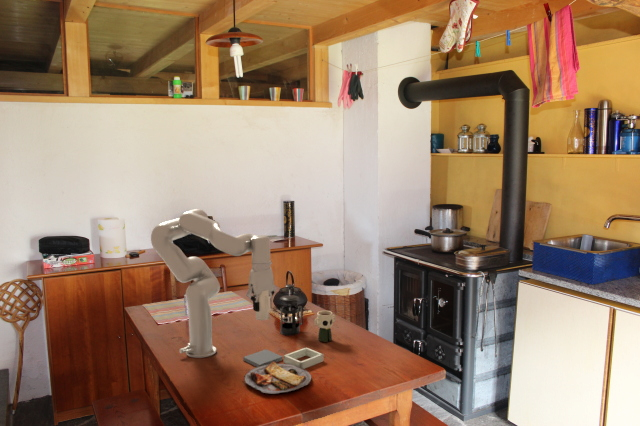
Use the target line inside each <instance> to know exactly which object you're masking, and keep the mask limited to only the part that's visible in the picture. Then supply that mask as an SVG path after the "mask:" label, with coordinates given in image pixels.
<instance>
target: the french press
mask: <svg viewBox="0 0 640 426" xmlns="http://www.w3.org/2000/svg"><path fill="white" fill-rule="evenodd" d="M294 286H295V285H294V284H286V285H284V287H285V288H288V293H289V294H288V295H287V294H285V295H282V296H280V298H279V300H280V301H281V302H283V303H284V305H282V306H280V308H279V309H280V331H279V332H280V334H281V335H283V336H288V337H289V336H291V337H292V336H297V335H299V334H300V333H301V329H300V326H303V325H304V307H303V306H302V305H299V306H298V305H297V304H298V303H299V300H300V296H298V295H294V294H292V295H291V288H293V287H294ZM291 308H292V309H295V310H289V309H291ZM296 313H297V315H296ZM283 314H284V316H283Z"/></svg>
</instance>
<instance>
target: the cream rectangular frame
mask: <svg viewBox="0 0 640 426" xmlns="http://www.w3.org/2000/svg"><path fill="white" fill-rule="evenodd" d="M303 357H309V358H306V359H303V360H298V359H301V358H303ZM322 362H324V353H321V352H318V351H316V350H314V349H311V348H309V347H303V348H301V349H298V350H294V351H292V352H289V353H287V354H284V355H283V364H290V365H293V366H297V367H300V368H303V370H304V369H305V370H306V369H307V368H309V367H312V366H315V365H317V364H320V363H322Z"/></svg>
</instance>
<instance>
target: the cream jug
mask: <svg viewBox="0 0 640 426" xmlns="http://www.w3.org/2000/svg"><path fill="white" fill-rule="evenodd" d="M255 298H256V296H255ZM258 302H259V312H257V311H255V319H256V320H257V321H267V320H270V312H271V311H272V310H271V309H272V300H271V301H270V296H269V292H268V290H266V291H262V294H260V295H259V299H258Z"/></svg>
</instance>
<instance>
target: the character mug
mask: <svg viewBox="0 0 640 426" xmlns="http://www.w3.org/2000/svg"><path fill="white" fill-rule="evenodd" d="M313 322H314V326H317V328H319V330H318V338H317V340H318V341H320V342H326V343H328V342H331V341H332V340H333V337H332V336H333V335H332V329H331V328H332V327H333V325H334V323H335V322H336V314H334V313H333V312H332V311H331V310H319V311H318V312H317V314H316V318H314V321H313Z"/></svg>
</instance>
